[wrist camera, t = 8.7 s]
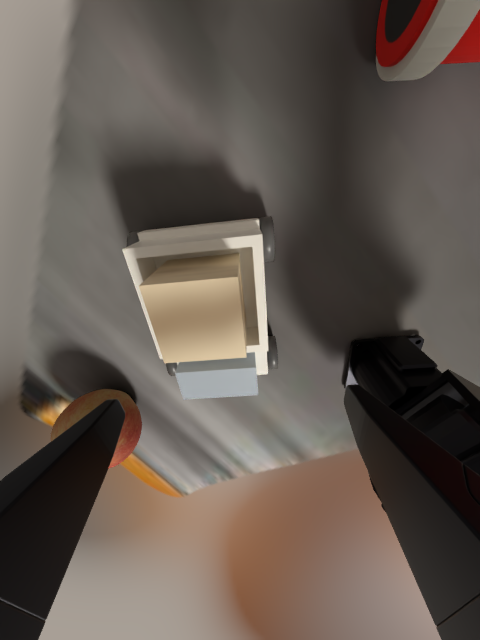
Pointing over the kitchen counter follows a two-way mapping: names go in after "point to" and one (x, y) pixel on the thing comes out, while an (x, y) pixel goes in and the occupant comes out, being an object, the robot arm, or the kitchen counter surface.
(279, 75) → the kitchen counter surface
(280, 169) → the kitchen counter surface
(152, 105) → the kitchen counter surface
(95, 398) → the apple
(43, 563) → the robot arm
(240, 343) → the cream wooden cube
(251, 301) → the toy truck
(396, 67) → the toy hammer
